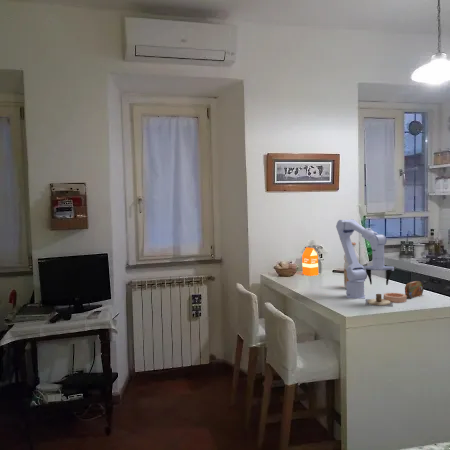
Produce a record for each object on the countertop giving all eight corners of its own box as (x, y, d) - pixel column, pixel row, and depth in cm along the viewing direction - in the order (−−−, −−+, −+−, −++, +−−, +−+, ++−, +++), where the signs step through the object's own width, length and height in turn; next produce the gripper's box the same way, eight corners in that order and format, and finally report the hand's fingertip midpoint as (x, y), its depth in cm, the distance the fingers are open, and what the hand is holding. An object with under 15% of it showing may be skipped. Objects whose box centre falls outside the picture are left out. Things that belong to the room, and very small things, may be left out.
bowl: (384, 302, 210) (383, 296, 209) (383, 297, 220) (383, 292, 220) (407, 303, 206) (407, 297, 206) (405, 298, 216) (405, 293, 216)
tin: (409, 299, 214) (409, 284, 213) (403, 298, 216) (403, 283, 216) (424, 295, 223) (423, 280, 222) (418, 294, 225) (418, 279, 225)
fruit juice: (341, 288, 248) (340, 242, 247) (351, 286, 254) (350, 241, 252) (353, 290, 241) (352, 243, 239) (363, 288, 246) (362, 242, 244)
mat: (365, 305, 204) (365, 305, 204) (365, 300, 217) (365, 299, 216) (392, 307, 200) (392, 306, 200) (392, 301, 212) (392, 300, 212)
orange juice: (310, 275, 294) (309, 248, 293) (302, 274, 301) (301, 247, 301) (318, 274, 298) (317, 247, 297) (310, 273, 305) (309, 246, 304)
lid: (367, 304, 205) (367, 296, 205) (367, 299, 215) (367, 291, 215) (390, 306, 201) (390, 297, 201) (389, 300, 211) (389, 292, 211)
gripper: (363, 258, 206) (363, 285, 206) (394, 259, 201) (394, 286, 201) (363, 257, 212) (364, 282, 213) (393, 257, 207) (393, 283, 208)
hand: (378, 284), depth 208 cm, fingers open, 7 cm apart
